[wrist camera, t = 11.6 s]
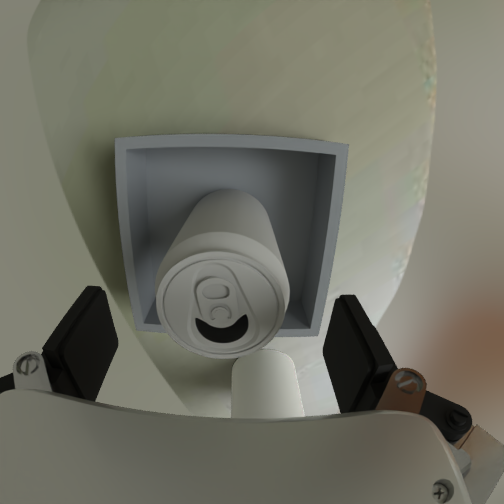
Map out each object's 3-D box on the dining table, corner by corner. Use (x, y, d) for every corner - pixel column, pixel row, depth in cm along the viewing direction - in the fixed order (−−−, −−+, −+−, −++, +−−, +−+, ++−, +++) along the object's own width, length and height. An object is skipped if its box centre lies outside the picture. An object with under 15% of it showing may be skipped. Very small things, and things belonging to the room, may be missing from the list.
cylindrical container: (306, 360, 31) (356, 578, 8) (273, 396, 33) (295, 586, 10) (251, 340, 29) (267, 596, 6) (221, 379, 31) (215, 590, 8)
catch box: (139, 135, 21) (114, 138, 16) (327, 141, 21) (348, 144, 17) (150, 298, 27) (136, 330, 22) (306, 303, 27) (318, 336, 23)
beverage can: (196, 265, 24) (167, 368, 13) (184, 191, 22) (130, 252, 11) (271, 258, 24) (294, 360, 13) (266, 182, 22) (292, 236, 11)
